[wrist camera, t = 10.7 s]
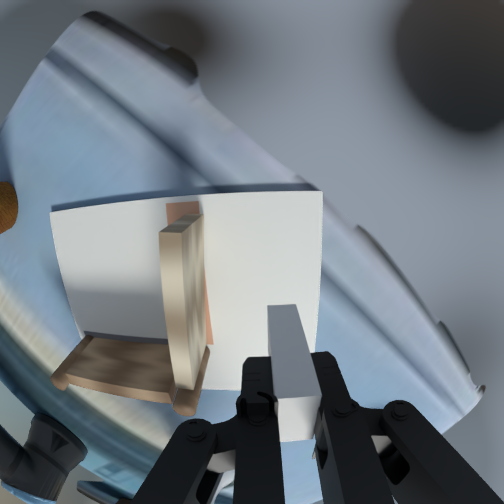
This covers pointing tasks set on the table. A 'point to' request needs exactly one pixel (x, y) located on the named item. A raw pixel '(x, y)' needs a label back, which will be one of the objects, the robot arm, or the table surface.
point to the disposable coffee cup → (7, 206)
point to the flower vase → (224, 482)
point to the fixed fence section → (129, 372)
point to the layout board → (215, 269)
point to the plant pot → (123, 501)
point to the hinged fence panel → (184, 295)
